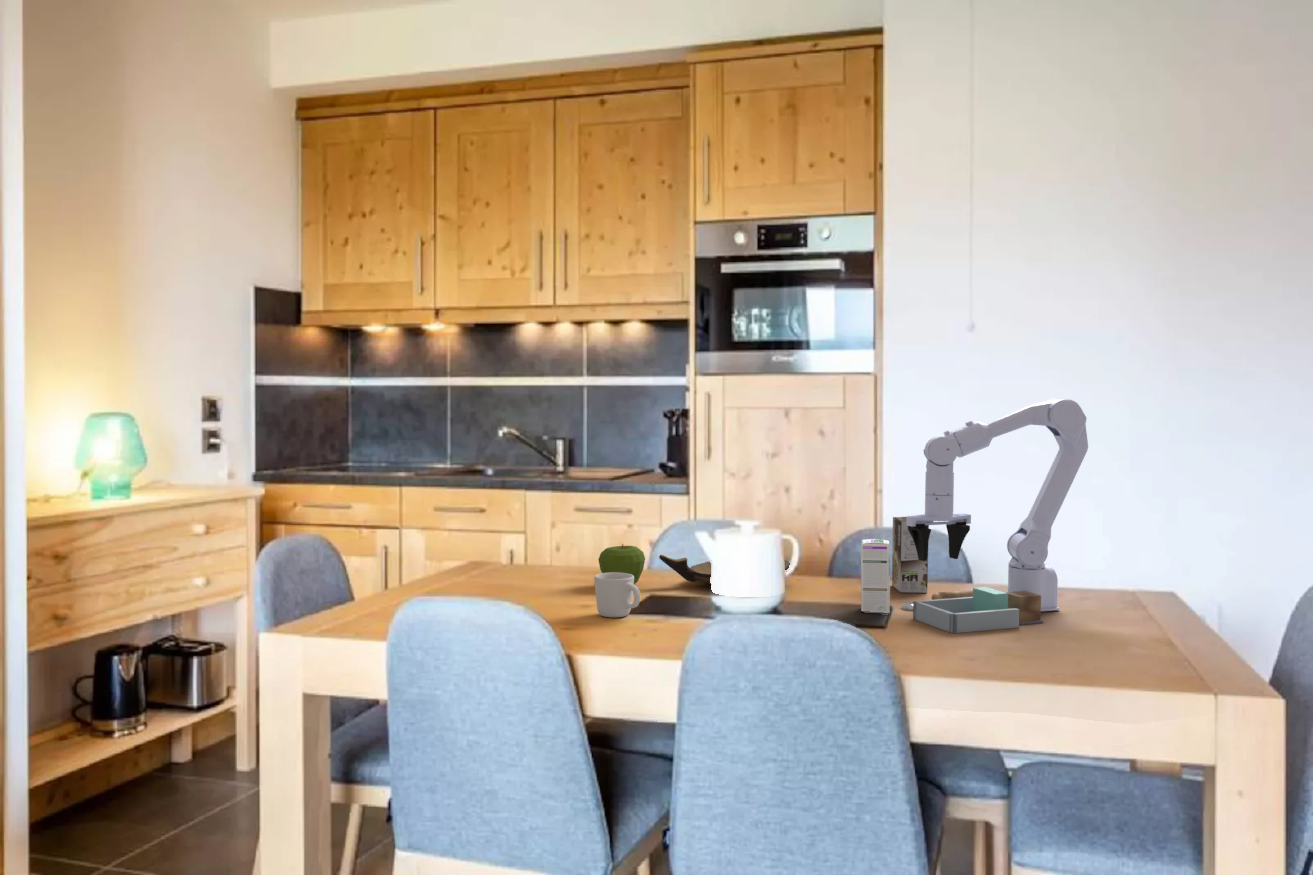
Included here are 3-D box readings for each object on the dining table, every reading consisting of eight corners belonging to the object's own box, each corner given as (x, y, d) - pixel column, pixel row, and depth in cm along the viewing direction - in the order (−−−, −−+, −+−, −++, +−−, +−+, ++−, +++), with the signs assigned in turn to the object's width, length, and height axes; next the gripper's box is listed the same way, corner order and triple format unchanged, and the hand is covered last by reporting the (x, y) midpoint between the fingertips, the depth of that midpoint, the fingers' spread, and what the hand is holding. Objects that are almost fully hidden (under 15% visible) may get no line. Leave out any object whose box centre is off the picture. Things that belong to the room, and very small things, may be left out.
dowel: (977, 599, 231) (978, 588, 231) (984, 601, 229) (984, 590, 229) (928, 603, 227) (929, 592, 227) (935, 605, 225) (935, 594, 225)
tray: (976, 613, 216) (976, 596, 216) (1018, 627, 204) (1019, 609, 204) (913, 618, 211) (913, 601, 211) (952, 633, 199) (952, 614, 198)
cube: (1023, 615, 215) (1024, 590, 215) (1040, 620, 210) (1041, 595, 210) (1003, 617, 213) (1003, 592, 213) (1019, 622, 209) (1020, 597, 208)
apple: (624, 580, 250) (625, 538, 249) (655, 587, 242) (655, 543, 242) (588, 586, 242) (588, 543, 242) (618, 593, 235) (619, 548, 234)
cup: (652, 617, 211) (652, 577, 210) (624, 624, 205) (624, 582, 205) (614, 609, 218) (614, 570, 218) (585, 615, 212) (585, 575, 212)
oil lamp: (791, 597, 232) (791, 562, 232) (655, 592, 237) (655, 558, 237) (794, 578, 254) (795, 547, 254) (670, 574, 259) (670, 543, 259)
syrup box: (889, 615, 214) (890, 543, 214) (859, 613, 215) (860, 542, 215) (889, 609, 220) (890, 539, 219) (860, 607, 221) (861, 538, 220)
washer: (915, 607, 224) (915, 601, 224) (927, 611, 219) (928, 605, 219) (897, 608, 222) (897, 602, 222) (909, 612, 218) (909, 606, 218)
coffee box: (928, 593, 237) (929, 521, 236) (899, 593, 237) (900, 520, 236) (919, 585, 246) (920, 516, 245) (891, 585, 246) (892, 515, 245)
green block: (984, 616, 214) (985, 586, 213) (1007, 623, 207) (1008, 593, 207) (972, 617, 213) (972, 587, 212) (994, 625, 206) (995, 594, 206)
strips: (1010, 612, 217) (1010, 610, 217) (1043, 623, 208) (1043, 620, 208) (985, 614, 215) (985, 612, 215) (1017, 625, 206) (1017, 623, 206)
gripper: (957, 491, 228) (956, 554, 228) (898, 493, 223) (897, 558, 224) (977, 494, 221) (976, 559, 222) (917, 496, 216) (916, 563, 217)
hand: (938, 559), depth 222 cm, fingers open, 7 cm apart
